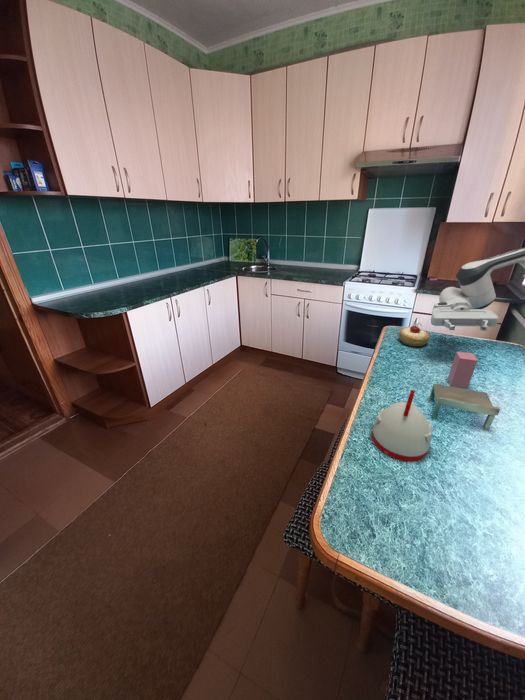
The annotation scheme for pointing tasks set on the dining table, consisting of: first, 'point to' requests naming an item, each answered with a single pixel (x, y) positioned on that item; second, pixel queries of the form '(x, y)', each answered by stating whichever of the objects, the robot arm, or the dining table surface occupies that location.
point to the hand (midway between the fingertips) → (468, 328)
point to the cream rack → (463, 401)
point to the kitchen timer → (402, 431)
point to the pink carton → (462, 369)
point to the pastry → (414, 336)
